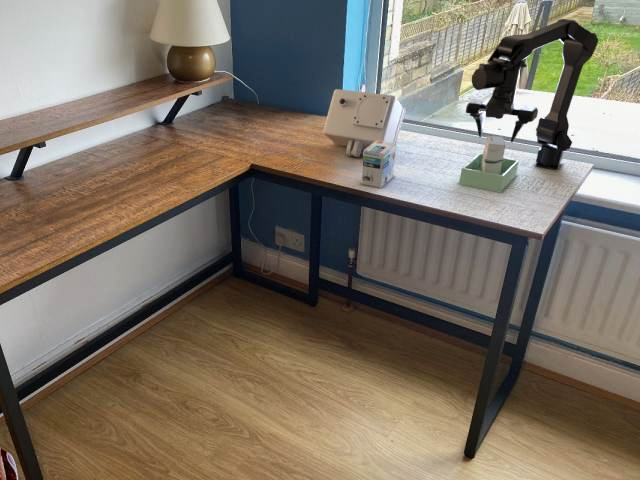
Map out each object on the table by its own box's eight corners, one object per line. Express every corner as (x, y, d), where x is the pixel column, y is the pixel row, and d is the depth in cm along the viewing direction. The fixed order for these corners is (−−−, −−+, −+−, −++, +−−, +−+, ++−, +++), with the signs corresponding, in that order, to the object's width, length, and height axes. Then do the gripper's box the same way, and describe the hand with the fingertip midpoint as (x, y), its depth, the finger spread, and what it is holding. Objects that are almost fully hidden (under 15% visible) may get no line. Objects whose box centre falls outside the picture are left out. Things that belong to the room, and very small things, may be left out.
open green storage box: (515, 175, 184) (519, 160, 181) (500, 192, 174) (503, 176, 171) (476, 168, 190) (479, 153, 187) (459, 183, 180) (461, 168, 177)
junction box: (310, 144, 201) (328, 80, 200) (326, 156, 215) (343, 96, 213) (377, 155, 190) (396, 87, 189) (389, 167, 204) (407, 104, 202)
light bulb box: (381, 188, 179) (384, 153, 173) (360, 184, 182) (362, 150, 176) (394, 176, 186) (397, 142, 181) (373, 172, 190) (376, 139, 184)
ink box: (498, 184, 178) (506, 145, 171) (481, 183, 179) (488, 144, 172) (496, 173, 185) (503, 135, 178) (479, 172, 186) (486, 134, 179)
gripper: (463, 87, 167) (455, 142, 175) (532, 96, 158) (520, 153, 166) (476, 79, 175) (468, 131, 183) (543, 86, 165) (531, 141, 173)
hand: (495, 139), depth 176 cm, fingers open, 9 cm apart
